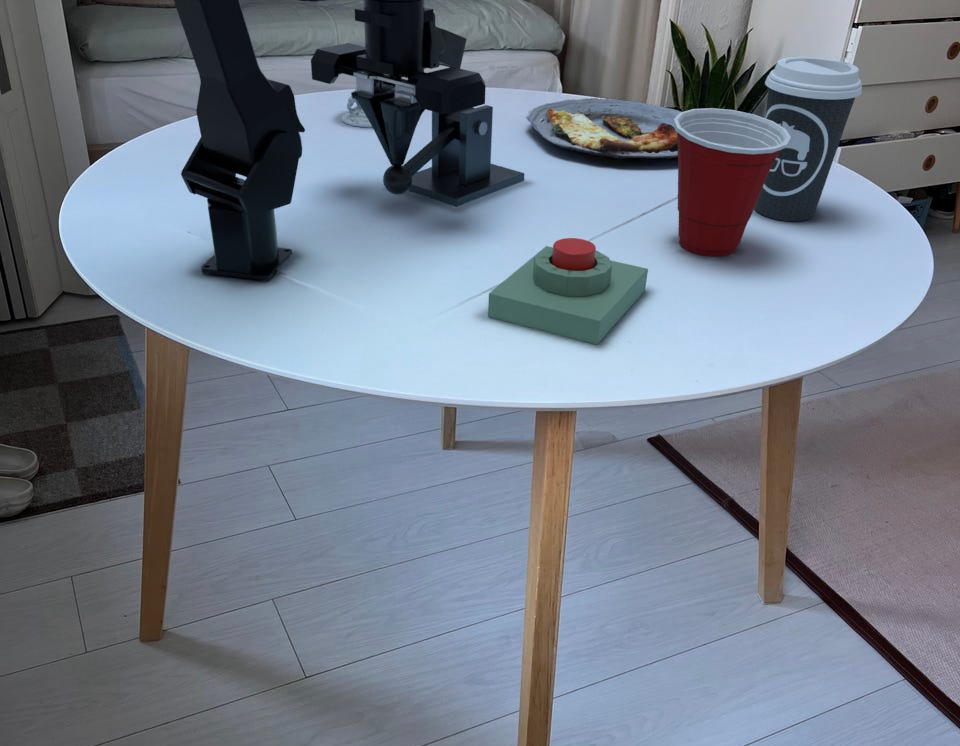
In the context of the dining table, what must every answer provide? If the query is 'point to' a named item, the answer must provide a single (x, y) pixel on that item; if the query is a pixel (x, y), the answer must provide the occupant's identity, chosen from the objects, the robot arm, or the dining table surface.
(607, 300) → the button block
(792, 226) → the dining table surface
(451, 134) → the control lever
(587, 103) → the food plate
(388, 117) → the robot arm
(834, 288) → the dining table surface
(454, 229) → the dining table surface
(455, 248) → the dining table surface
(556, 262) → the button
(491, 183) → the lever bracket
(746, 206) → the plastic cup
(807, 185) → the coffee cup
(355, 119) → the miniature
